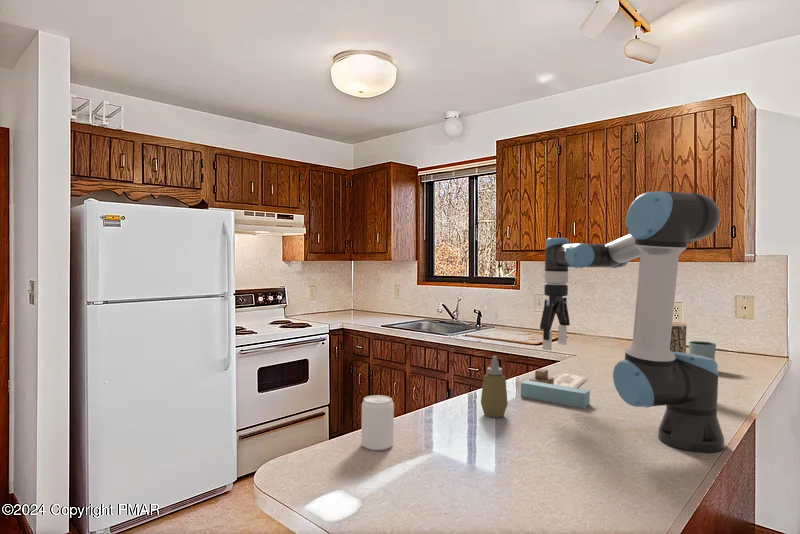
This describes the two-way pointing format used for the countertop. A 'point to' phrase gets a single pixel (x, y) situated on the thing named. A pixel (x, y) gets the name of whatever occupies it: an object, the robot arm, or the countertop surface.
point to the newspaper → (569, 380)
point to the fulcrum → (542, 377)
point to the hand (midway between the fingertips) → (554, 347)
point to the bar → (555, 393)
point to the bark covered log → (678, 338)
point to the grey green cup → (702, 349)
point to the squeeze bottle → (494, 391)
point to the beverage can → (377, 422)
